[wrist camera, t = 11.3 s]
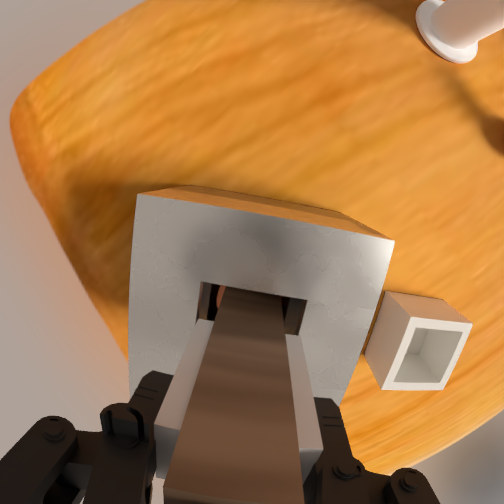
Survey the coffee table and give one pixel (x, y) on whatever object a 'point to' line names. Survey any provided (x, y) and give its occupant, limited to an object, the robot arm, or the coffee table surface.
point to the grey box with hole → (252, 276)
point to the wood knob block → (240, 413)
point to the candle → (458, 25)
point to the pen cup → (415, 342)
